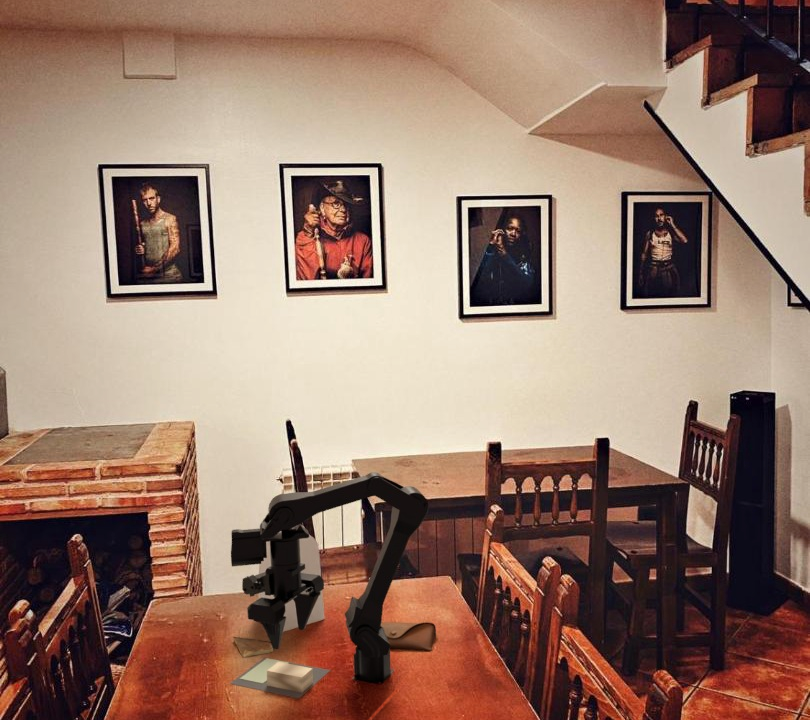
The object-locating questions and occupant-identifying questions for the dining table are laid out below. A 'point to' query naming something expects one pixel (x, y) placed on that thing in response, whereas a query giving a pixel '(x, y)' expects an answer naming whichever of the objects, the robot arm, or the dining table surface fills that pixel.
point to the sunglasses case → (410, 635)
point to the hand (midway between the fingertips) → (289, 639)
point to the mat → (258, 678)
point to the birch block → (290, 677)
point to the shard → (252, 646)
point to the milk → (312, 566)
